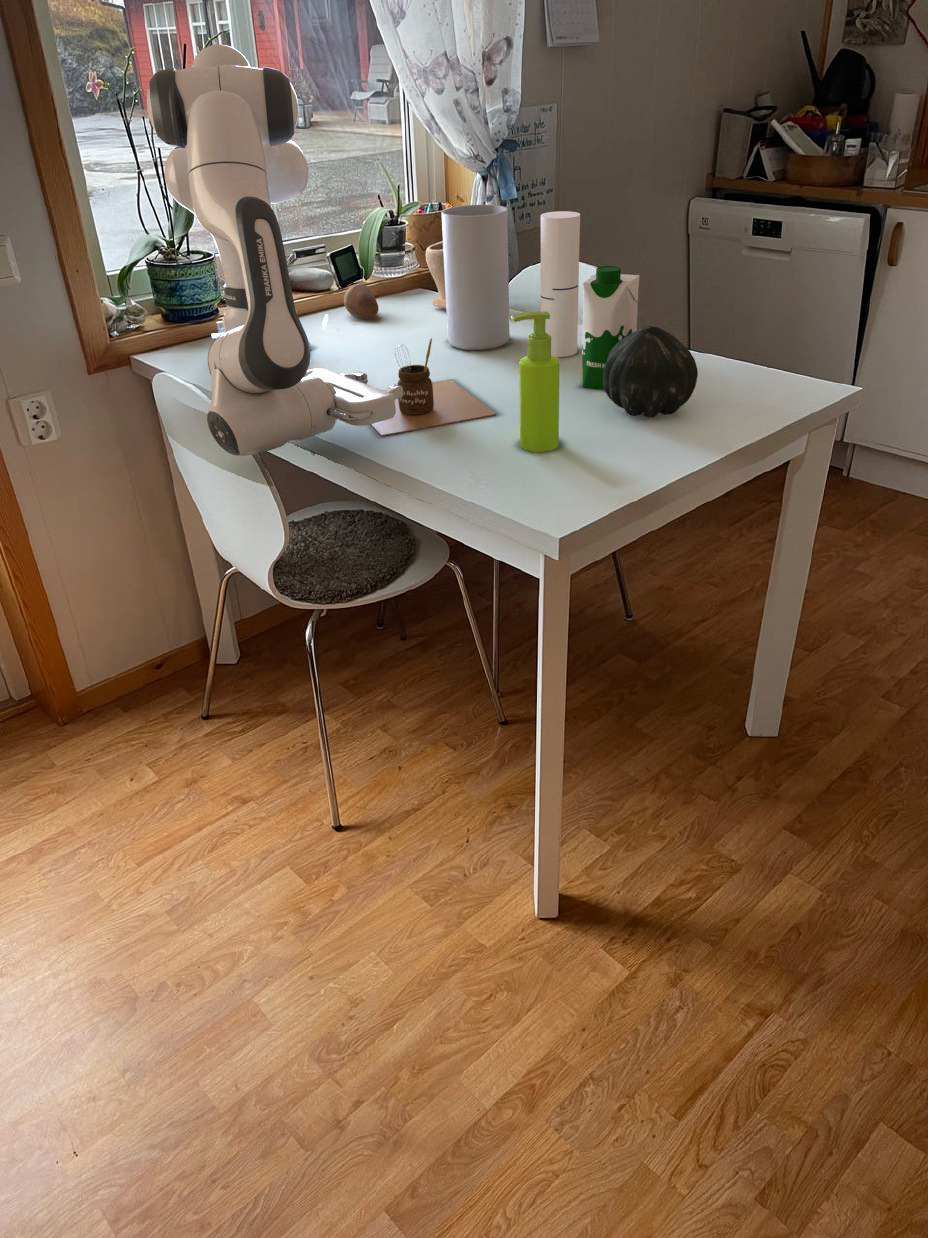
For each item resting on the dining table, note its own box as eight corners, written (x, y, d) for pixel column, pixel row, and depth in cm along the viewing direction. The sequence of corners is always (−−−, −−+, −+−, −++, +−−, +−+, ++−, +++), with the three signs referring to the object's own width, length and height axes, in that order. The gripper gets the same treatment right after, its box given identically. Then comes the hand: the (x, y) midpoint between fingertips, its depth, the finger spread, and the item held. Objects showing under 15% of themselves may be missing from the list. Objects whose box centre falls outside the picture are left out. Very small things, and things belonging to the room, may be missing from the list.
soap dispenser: (511, 439, 150) (509, 309, 139) (555, 436, 150) (556, 306, 139) (516, 453, 145) (514, 319, 134) (561, 450, 145) (563, 316, 134)
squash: (670, 354, 165) (627, 297, 155) (728, 381, 154) (685, 321, 144) (615, 419, 166) (569, 366, 156) (669, 450, 155) (622, 395, 145)
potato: (360, 323, 210) (357, 291, 207) (336, 315, 218) (332, 283, 214) (387, 317, 214) (384, 285, 210) (362, 309, 221) (359, 277, 217)
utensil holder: (402, 403, 165) (396, 333, 159) (438, 404, 164) (434, 333, 158) (395, 416, 160) (389, 344, 154) (432, 416, 159) (428, 344, 153)
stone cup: (418, 309, 219) (414, 240, 211) (459, 299, 225) (456, 231, 217) (459, 321, 208) (456, 249, 200) (501, 311, 214) (499, 240, 207)
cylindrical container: (575, 357, 184) (578, 217, 170) (538, 356, 185) (538, 218, 172) (578, 346, 190) (582, 210, 176) (542, 345, 191) (543, 211, 178)
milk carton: (576, 388, 169) (578, 270, 158) (592, 372, 175) (595, 258, 165) (624, 393, 165) (630, 273, 155) (639, 377, 172) (645, 261, 161)
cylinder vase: (520, 337, 196) (519, 206, 183) (489, 354, 188) (485, 217, 174) (469, 330, 202) (464, 203, 189) (436, 346, 194) (428, 213, 180)
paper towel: (346, 399, 169) (346, 398, 169) (451, 380, 175) (451, 379, 175) (381, 436, 153) (381, 435, 153) (496, 414, 159) (496, 413, 159)
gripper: (348, 401, 139) (421, 378, 147) (273, 371, 152) (344, 351, 160) (352, 442, 143) (424, 417, 150) (278, 409, 156) (348, 388, 163)
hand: (382, 383), depth 155 cm, fingers open, 8 cm apart
